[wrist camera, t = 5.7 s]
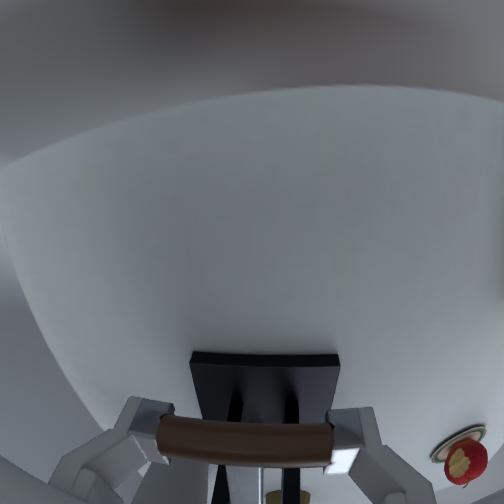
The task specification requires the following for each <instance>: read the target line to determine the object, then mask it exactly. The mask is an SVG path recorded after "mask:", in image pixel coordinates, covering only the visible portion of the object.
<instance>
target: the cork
mask: <svg viewBox="0 0 504 504" xmlns="http://www.w3.org/2000/svg"><path fill="white" fill-rule="evenodd" d="M309 502H310V494H309V493H307V492H305V491H300V504H309ZM280 503H281V490H279V491H274V492H271V493H268V494H267V495H266V504H280Z"/></svg>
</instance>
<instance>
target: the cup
mask: <svg viewBox="0 0 504 504" xmlns="http://www.w3.org/2000/svg"><path fill="white" fill-rule="evenodd" d="M208 465H209V464H208V463H200V462H193V461H187V460H181V459H175V458H172V459H171V462H170V465H166V464H161V463H155V462H152V463H151V465H150V467H149V468H148V470H147V472H146V474H145V476H144V478H143V480H142V482H141V484H140V486H139V488H138V490H137V492H136V494H135V496H134V498H133V500H132V502H131V504H207V495H208Z"/></svg>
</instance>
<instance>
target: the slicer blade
mask: <svg viewBox="0 0 504 504" xmlns="http://www.w3.org/2000/svg"><path fill="white" fill-rule="evenodd" d="M332 446H333V434H332V429H331V426H330V424H329V423H308V424H265V423H242V422H227V421H216V420H206V419H197V418H189V417H181V416H174V415H165V416H163V417H162V419H161V421H160V423H159V426H158V430H157V448H158V451H159V453H160V454H161V455H162V456H164V457H170V458H175V459H181V460H187V461H193V462H200V463H208V464H217V465H225V466H226V474H227V481H228V487H229V494H230V501H231V504H263V471H264V468H316V467H327V466H329V464H330V462H331V459H332Z"/></svg>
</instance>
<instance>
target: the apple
mask: <svg viewBox="0 0 504 504" xmlns="http://www.w3.org/2000/svg"><path fill="white" fill-rule="evenodd" d="M486 432H487V430H486V428H485V427H483V426H479V427H475V428H472V429H469V430H467V431H465V432H463V433H461V434H459V435H457V436H455V437H454V438H452V439H450V440H449V441H447V442H446V443H445V444H443V445H442V446H441V447H440V448H438V449H437V450H436V451H435V452H434V454H433V455H432V457H431V462H432V463H435V464H440V463H445V465H444V472H445V475H446V477H447V479H448V480H449V481H450V482H452V483H454V484H456V485H462V484H465V483H467V482H469V481H471V480H473V479H475V478H477V477H479V476H480V475H481V474H482V473H483V471H484V470H485V469H486V467H487V463H488V456H487V450H486V449H485V447H484V446H483V445H482V444H481V443H479V442H480V441H481V440H482V439H483V438H484V436H485V434H486ZM467 484H468V483H467ZM466 486H467V485H465V486H464V487H463V488H465V487H466Z"/></svg>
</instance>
